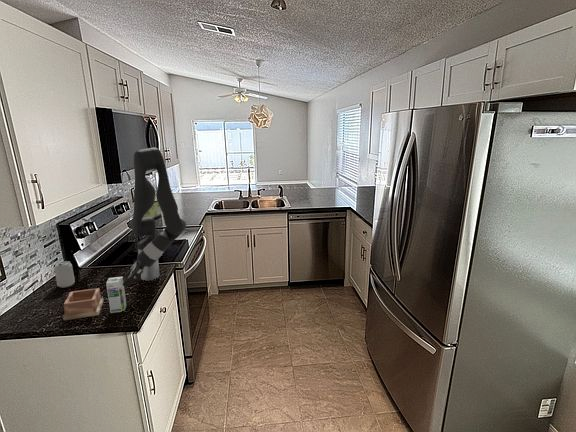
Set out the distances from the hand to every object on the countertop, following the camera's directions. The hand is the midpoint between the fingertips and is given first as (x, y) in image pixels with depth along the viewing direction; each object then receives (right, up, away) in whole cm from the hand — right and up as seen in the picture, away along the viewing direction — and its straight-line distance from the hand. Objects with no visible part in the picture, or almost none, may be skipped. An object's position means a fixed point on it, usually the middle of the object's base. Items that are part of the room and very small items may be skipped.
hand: (125, 281), depth 146 cm
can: (-42, -7, +24) cm, 49 cm away
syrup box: (-4, -13, +2) cm, 14 cm away
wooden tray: (-19, -13, +1) cm, 23 cm away
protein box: (-50, +27, +149) cm, 159 cm away
